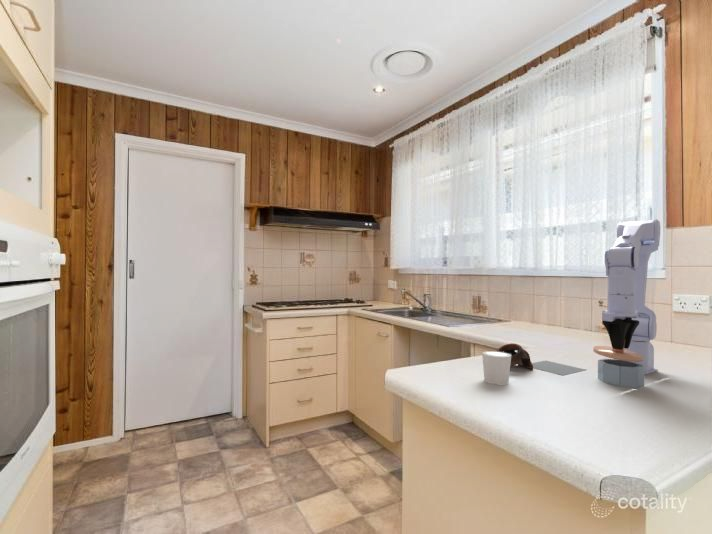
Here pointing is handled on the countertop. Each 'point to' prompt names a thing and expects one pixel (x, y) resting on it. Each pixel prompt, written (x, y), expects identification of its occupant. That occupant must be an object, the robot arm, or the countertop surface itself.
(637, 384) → the grey octagonal bowl
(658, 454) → the countertop surface
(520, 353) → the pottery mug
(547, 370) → the mat
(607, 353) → the lid
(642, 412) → the countertop surface
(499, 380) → the white tapered cylinder
